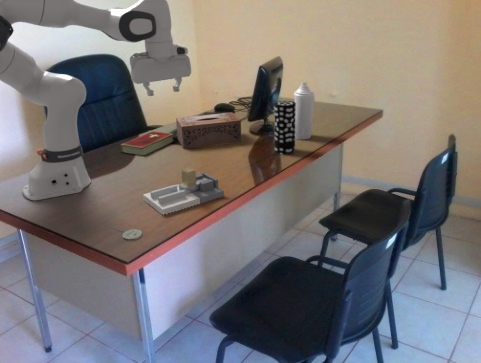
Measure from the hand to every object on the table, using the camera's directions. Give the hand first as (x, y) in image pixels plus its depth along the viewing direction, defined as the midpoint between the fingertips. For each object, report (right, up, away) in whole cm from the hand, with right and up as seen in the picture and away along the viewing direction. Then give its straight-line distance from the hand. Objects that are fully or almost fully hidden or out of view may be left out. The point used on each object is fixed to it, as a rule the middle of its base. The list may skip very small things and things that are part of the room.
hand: (163, 93), depth 154 cm
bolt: (+10, -31, -1) cm, 33 cm away
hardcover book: (-15, -14, +49) cm, 53 cm away
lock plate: (+7, -34, -2) cm, 35 cm away
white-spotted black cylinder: (+44, -17, +38) cm, 60 cm away
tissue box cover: (+11, -11, +54) cm, 56 cm away
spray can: (+53, -10, +54) cm, 76 cm away
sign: (-9, -44, -21) cm, 49 cm away
